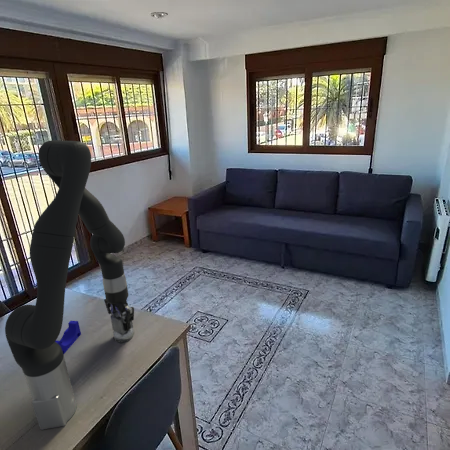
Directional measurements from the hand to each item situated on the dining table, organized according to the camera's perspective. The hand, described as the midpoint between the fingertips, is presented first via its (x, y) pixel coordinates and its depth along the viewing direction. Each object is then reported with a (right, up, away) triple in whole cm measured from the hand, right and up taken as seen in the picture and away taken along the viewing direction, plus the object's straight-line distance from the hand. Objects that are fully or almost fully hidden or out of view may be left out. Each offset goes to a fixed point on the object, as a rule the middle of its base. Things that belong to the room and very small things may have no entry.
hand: (122, 327), depth 114 cm
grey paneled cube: (0, -1, 0) cm, 1 cm away
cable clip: (-20, -6, -2) cm, 21 cm away
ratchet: (0, -3, +4) cm, 5 cm away
